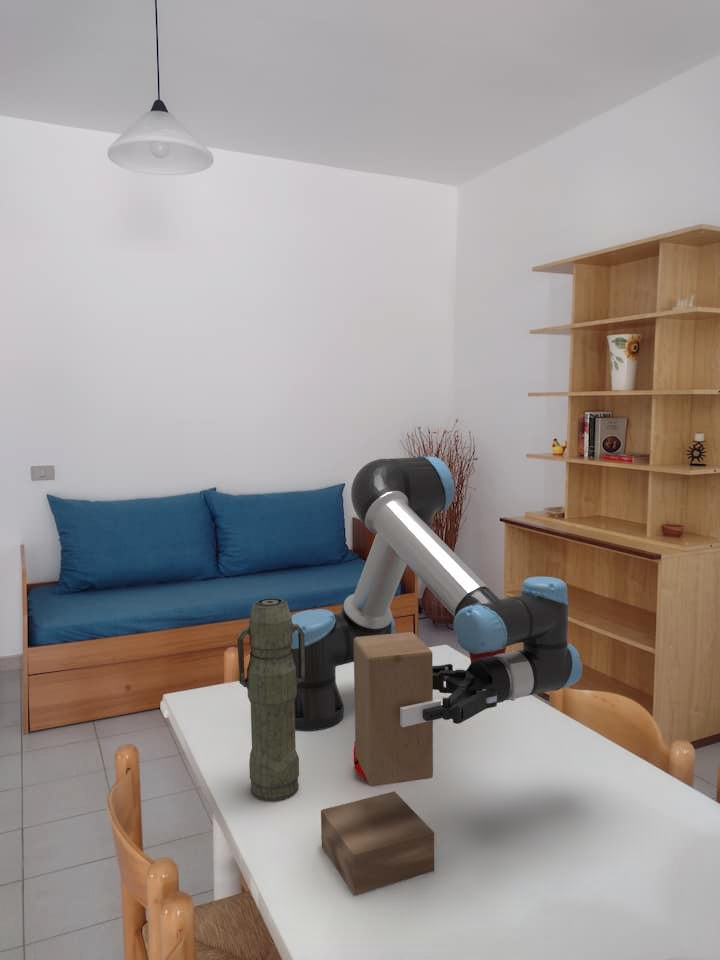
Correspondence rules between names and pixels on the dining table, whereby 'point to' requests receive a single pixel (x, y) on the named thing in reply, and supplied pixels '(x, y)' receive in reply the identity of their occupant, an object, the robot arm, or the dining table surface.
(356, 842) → the walnut pedestal block
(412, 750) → the wooden block
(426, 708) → the robot arm
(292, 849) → the dining table surface
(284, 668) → the thermos
